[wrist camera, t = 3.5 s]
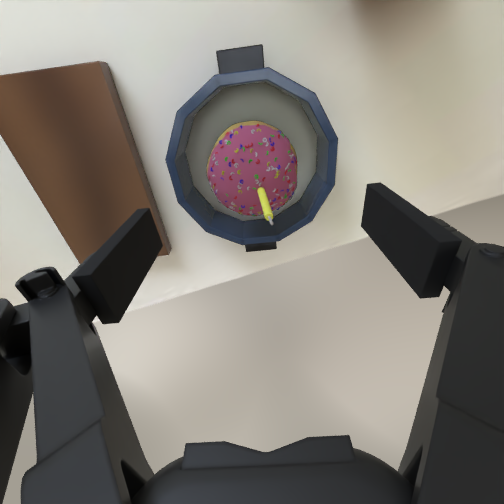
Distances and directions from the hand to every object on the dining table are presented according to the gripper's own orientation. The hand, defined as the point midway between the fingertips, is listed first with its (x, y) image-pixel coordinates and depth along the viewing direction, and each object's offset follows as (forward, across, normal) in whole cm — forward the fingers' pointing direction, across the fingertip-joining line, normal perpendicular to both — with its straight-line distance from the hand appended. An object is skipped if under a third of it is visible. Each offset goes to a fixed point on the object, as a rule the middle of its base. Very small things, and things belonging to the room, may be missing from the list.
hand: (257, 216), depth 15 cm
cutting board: (+14, -18, 0) cm, 23 cm away
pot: (+14, 0, 0) cm, 14 cm away
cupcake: (+14, 0, 0) cm, 14 cm away
